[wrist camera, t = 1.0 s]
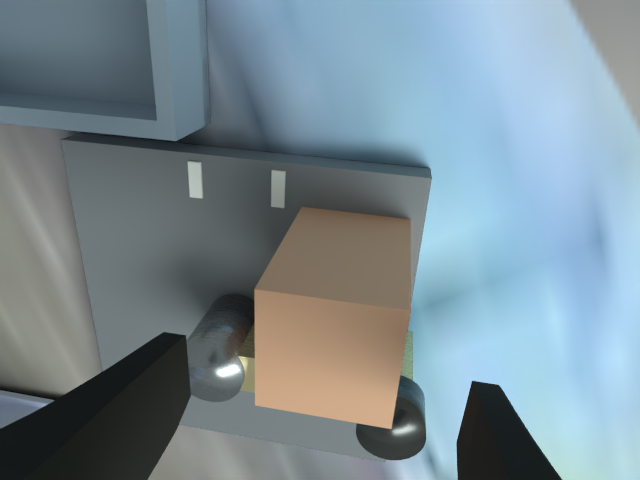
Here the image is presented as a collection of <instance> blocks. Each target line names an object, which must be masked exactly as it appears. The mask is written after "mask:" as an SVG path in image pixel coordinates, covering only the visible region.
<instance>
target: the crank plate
mask: <svg viewBox="0 0 640 480" xmlns="http://www.w3.org/2000/svg"><path fill="white" fill-rule="evenodd" d="M61 145H62V150H63V156H64V161H65V167H66V172H67V178H68V183H69V189H70V194H71V200H72V205H73V211H74V216H75V222H76V227H77V233H78V238H79V244H80V249H81V255H82V260H83V266H84V271H85V277H86V282H87V288H88V293H89V299H90V304H91V310H92V315H93V321H94V326H95V332H96V337H97V343H98V348H99V354H100V359H101V365H102V370H103V371H104V370H106V369H108V368H109V367H111V366H112V365H114V364H115V363H117V362H118V361H120V360H121V359H123V358H125V357H126V356H128V355H129V354H131V353H132V352H134V351H135V350H137V349H138V348H140V347H141V346H143V345H144V344H146V343H147V342H149V341H150V340H152V339H153V338H155V337H156V336H158V335H160V334H161V333H163V332H168V333H174V334H181V335H186V341H187V339H188V338H189V336H190V335H191V333H192V332H193V331H194V329H195V328H196V326H197V325H198V323H199V322H200V321H201V319H202V318H203V316H204V315H205V313H206V312H207V310H208V309H209V308H210V306H211V305H212V303H213V302H214V301H215V300H216V299H217V298H219V297H221V296H223V295H227V294H238V295H243V296H246V297H248V298H250V299H252V300H253V301H255V300H254V289H255V287H256V286H257V284H258V282H259V280H260V279H261V277H262V275H263V273H264V272H265V270H266V268H267V266H268V265H269V263H270V261H271V260H272V258H273V256H274V254H275V253H276V251H277V249H278V247H279V246H280V244H281V242H282V240H283V239H284V237H285V235H286V233H287V232H288V230H289V228H290V227H291V225H292V223H293V221H294V220H295V218H296V216H297V214H298V213H299V211H300V209H301V207H308V208H317V209H325V210H334V211H343V212H351V213H360V214H368V215H377V216H386V217H394V218H403V219H411V301H412V295H413V289H414V283H415V277H416V271H417V265H418V259H419V253H420V246H421V240H422V234H423V228H424V222H425V216H426V210H427V204H428V198H429V192H430V186H431V180H432V177H431V170H430V168H420V167H410V166H400V165H391V164H381V163H371V162H361V161H351V160H341V159H332V158H322V157H312V156H302V155H292V154H283V153H273V152H263V151H253V150H243V149H233V148H224V147H214V146H204V145H194V144H184V143H174V142H165V141H155V140H145V139H135V138H125V137H116V136H106V135H96V134H86V133H78V134H75V135H72V136H70V137H67V138H64V139H61ZM356 424H357V423H353V422H347V421H342V420H336V419H330V418H324V417H319V416H313V415H307V414H301V413H296V412H290V411H284V410H279V409H273V408H267V407H261V406H256V405H255V393H252V392H246V391H239V392H238V394H237V395H236V396H234V397H233V398H231V399H230V400H227V401H223V402H209V401H205V400H202V399H199V398H197V397H195V396H193V395H191V397H190V399H189V402H188V404H187V407H186V409H185V411H184V414H183V416H182V418H181V420H180V423H179V425H184V426H189V427H195V428H200V429H206V430H211V431H217V432H222V433H228V434H233V435H239V436H244V437H249V438H255V439H260V440H266V441H271V442H277V443H282V444H288V445H293V446H298V447H304V448H309V449H315V450H320V451H326V452H331V453H337V454H342V455H347V456H353V457H358V458H364V459H369V460H375V461H380V462H385V459H382V458H379V457H377V456H374V455H372V454H371V453H369V452H368V451H366V450H365V449H364V448H363V447H362V446H361V444H360V443H359V441H358V439H357V436H356Z"/></svg>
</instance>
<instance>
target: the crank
mask: <svg viewBox="0 0 640 480" xmlns="http://www.w3.org/2000/svg"><path fill="white" fill-rule="evenodd" d="M187 353H188V365H189V377H190V389H191V395H193V396H195V397H197V398H199V399H202V400H205V401H209V402H223V401H227V400H230V399H231V398H233V397H234V396H236V395H237V394H238V392H239V391H246V392H252V393H255V301H253V300H252V299H250V298H248V297H246V296H243V295H238V294H227V295H223V296H221V297H219V298H217V299H216V300H215V301H214V302H213V303H212V305H211V306H210V308H209V309H208V310H207V312H206V313H205V315H204V316H203V318H202V319H201V321H200V322H199V323H198V325H197V326H196V328H195V329H194V331H193V332H192V333H191V335H190V336H189V338H188V339H187ZM356 436H357V439H358V441H359V443H360V444H361V446H362V447H363V448H364V449H365V450H366V451H368V452H369V453H371V454H372V455H374V456H377V457H379V458H382V459H387V460H403V459H407V458H410V457H412V456H414V455H416V454H417V453H419V452H420V451H421V450H422V448H423V447H424V445H425V442H426V425H425V399H424V394H423V392H422V390H421V388H420V387H419V386H418V385H417V384H416V383H415V382H414V381H413V341H412V331H408V332H407V338H406V344H405V350H404V356H403V362H402V368H401V374H400V380H399V386H398V392H397V398H396V404H395V410H394V416H393V422H392V428H391V429H388V428H382V427H376V426H370V425H365V424H359V423H357V424H356Z"/></svg>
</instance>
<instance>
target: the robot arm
mask: <svg viewBox="0 0 640 480" xmlns="http://www.w3.org/2000/svg"><path fill="white" fill-rule="evenodd" d="M190 397H191V389H190V377H189V365H188V353H187V341H186V335H181V334H174V333H168V332H163V333H161V334H160V335H158V336H156V337H155V338H153V339H152V340H150V341H149V342H147V343H146V344H144V345H143V346H141V347H140V348H138V349H137V350H135V351H134V352H132V353H131V354H129V355H128V356H126V357H125V358H123V359H121V360H120V361H118V362H117V363H115V364H114V365H112V366H111V367H109V368H108V369H106V370H104V371H103V372H101V373H100V374H98V375H97V376H95V377H94V378H92V379H90V380H89V381H87V382H85V383H83V384H82V385H80V386H78V387H77V388H75V389H73V390H72V391H70V392H68V393H67V394H65V395H63V396H61V397H60V398H58V399H56V400H51V399H46V398H40V397H35V396H29V395H24V394H18V393H13V392H8V391H2V390H0V480H147V479H148V478H149V476H150V474H151V473H152V471H153V469H154V468H155V466H156V464H157V463H158V461H159V459H160V457H161V456H162V454H163V452H164V451H165V449H166V447H167V446H168V444H169V442H170V440H171V439H172V437H173V435H174V433H175V431H176V429H177V427H178V425H179V423H180V420H181V418H182V416H183V414H184V411H185V409H186V407H187V404H188V402H189V399H190ZM457 470H458V480H562V479H561V478H560V476H559V475H558V473H557V472H556V471H555V469H554V468H553V466H552V465H551V464H550V462H549V461H548V459H547V458H546V456H545V455H544V454H543V452H542V451H541V449H540V448H539V446H538V445H537V444H536V442H535V441H534V439H533V438H532V436H531V435H530V433H529V431H528V430H527V428H526V427H525V425H524V424H523V422H522V421H521V419H520V417H519V416H518V414H517V413H516V411H515V410H514V408H513V406H512V405H511V403H510V401H509V400H508V398H507V397H506V395H505V393H504V392H503V390H502V389H501V387H500V386H499V385H495V384H488V383H482V382H476V381H472V384H471V388H470V392H469V396H468V400H467V404H466V408H465V412H464V416H463V419H462V423H461V427H460V431H459V435H458V439H457Z"/></svg>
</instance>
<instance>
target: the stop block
mask: <svg viewBox="0 0 640 480" xmlns="http://www.w3.org/2000/svg"><path fill="white" fill-rule="evenodd" d="M254 300H255V405H256V406H261V407H267V408H273V409H279V410H284V411H290V412H296V413H301V414H307V415H313V416H319V417H324V418H330V419H336V420H342V421H347V422H353V423H359V424H365V425H370V426H376V427H382V428H388V429H391V428H392V422H393V416H394V410H395V404H396V398H397V392H398V386H399V380H400V374H401V368H402V362H403V356H404V350H405V344H406V338H407V332H408V326H409V319H410V313H411V219H403V218H394V217H386V216H377V215H368V214H360V213H351V212H343V211H334V210H325V209H317V208H308V207H301V209H300V211H299V213H298V214H297V216H296V218H295V220H294V221H293V223H292V225H291V227H290V228H289V230H288V232H287V233H286V235H285V237H284V239H283V240H282V242H281V244H280V246H279V247H278V249H277V251H276V253H275V254H274V256H273V258H272V260H271V261H270V263H269V265H268V266H267V268H266V270H265V272H264V273H263V275H262V277H261V279H260V280H259V282H258V284H257V286H256V287H255V289H254Z"/></svg>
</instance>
